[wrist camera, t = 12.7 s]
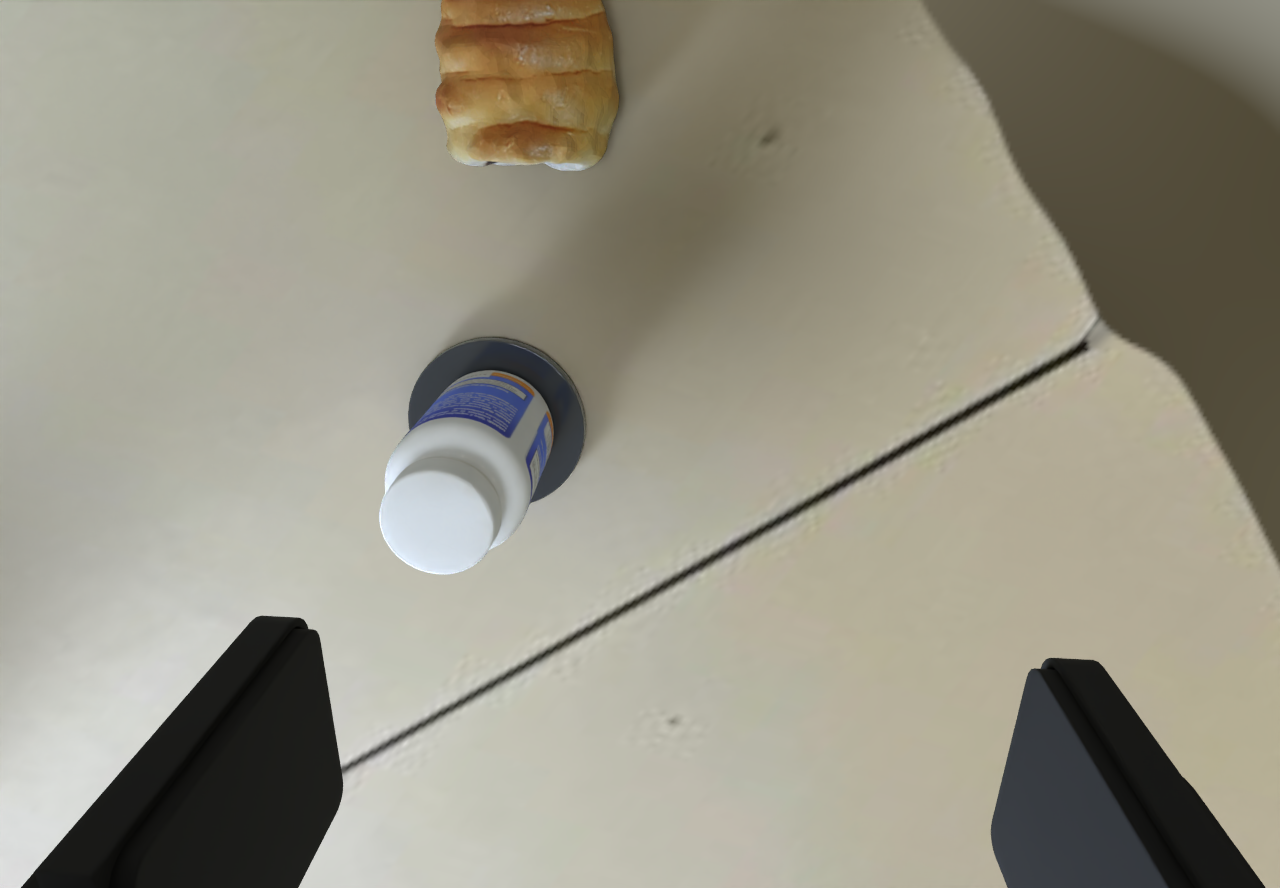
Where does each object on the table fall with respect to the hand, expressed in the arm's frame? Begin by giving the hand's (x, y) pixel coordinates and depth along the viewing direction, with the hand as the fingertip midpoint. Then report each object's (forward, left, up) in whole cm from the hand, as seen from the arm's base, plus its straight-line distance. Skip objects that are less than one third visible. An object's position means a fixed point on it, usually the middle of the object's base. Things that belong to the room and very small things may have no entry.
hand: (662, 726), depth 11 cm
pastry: (-10, -6, -26) cm, 28 cm away
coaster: (+5, -8, -26) cm, 28 cm away
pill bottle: (+5, -8, -26) cm, 27 cm away
